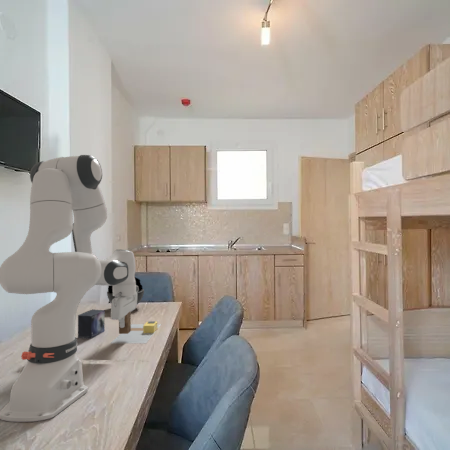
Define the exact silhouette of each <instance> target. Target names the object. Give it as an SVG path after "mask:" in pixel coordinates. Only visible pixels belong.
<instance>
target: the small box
mask: <svg viewBox="0 0 450 450" xmlns="http://www.w3.org/2000/svg"><path fill="white" fill-rule="evenodd" d="M105 311H106V310H104V309H103V310H102V309H90V310H88V311H85V312H83V313H81V314H78V315H77V338H78V339H87V340H88V339H90V340H91V339H93V338H96V336H99V335H101V334H102V333H104V332H105V331H106V330H105V327H106V326H105Z"/></svg>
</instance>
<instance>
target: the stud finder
mask: <svg viewBox="0 0 450 450" xmlns="http://www.w3.org/2000/svg"><path fill="white" fill-rule="evenodd" d="M157 324H158V321H156V320H155V321H150V320H148V321H146V322H145V323H144V326H143V333H154V332H155V331H156V330H157V331H158V329H157ZM157 331H156V332H157ZM156 332H155V333H156ZM155 333H154V334H155Z"/></svg>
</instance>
